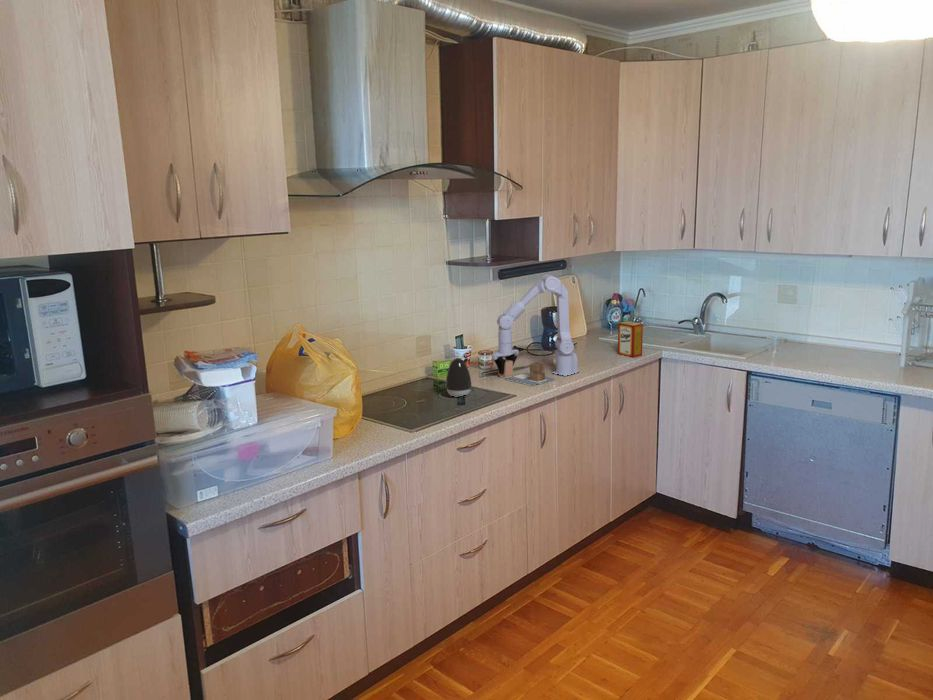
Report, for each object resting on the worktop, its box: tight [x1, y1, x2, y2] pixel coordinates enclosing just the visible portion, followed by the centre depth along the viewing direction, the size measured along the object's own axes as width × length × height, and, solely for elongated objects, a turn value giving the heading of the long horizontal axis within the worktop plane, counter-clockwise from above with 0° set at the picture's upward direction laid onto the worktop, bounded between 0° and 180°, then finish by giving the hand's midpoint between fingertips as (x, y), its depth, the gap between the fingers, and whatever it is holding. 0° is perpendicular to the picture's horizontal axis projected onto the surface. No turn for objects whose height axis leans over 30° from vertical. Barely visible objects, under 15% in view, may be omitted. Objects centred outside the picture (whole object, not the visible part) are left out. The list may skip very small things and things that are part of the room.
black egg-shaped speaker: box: [445, 358, 472, 398], centre depth 279 cm, size 10×10×15 cm
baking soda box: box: [617, 320, 644, 359], centre depth 341 cm, size 10×6×16 cm
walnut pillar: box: [529, 361, 546, 382], centre depth 298 cm, size 4×4×7 cm
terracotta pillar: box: [497, 358, 514, 378], centre depth 307 cm, size 4×4×7 cm
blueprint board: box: [504, 372, 556, 385], centre depth 302 cm, size 14×16×1 cm
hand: (505, 372), depth 308 cm, fingers closed on terracotta pillar, 4 cm apart
